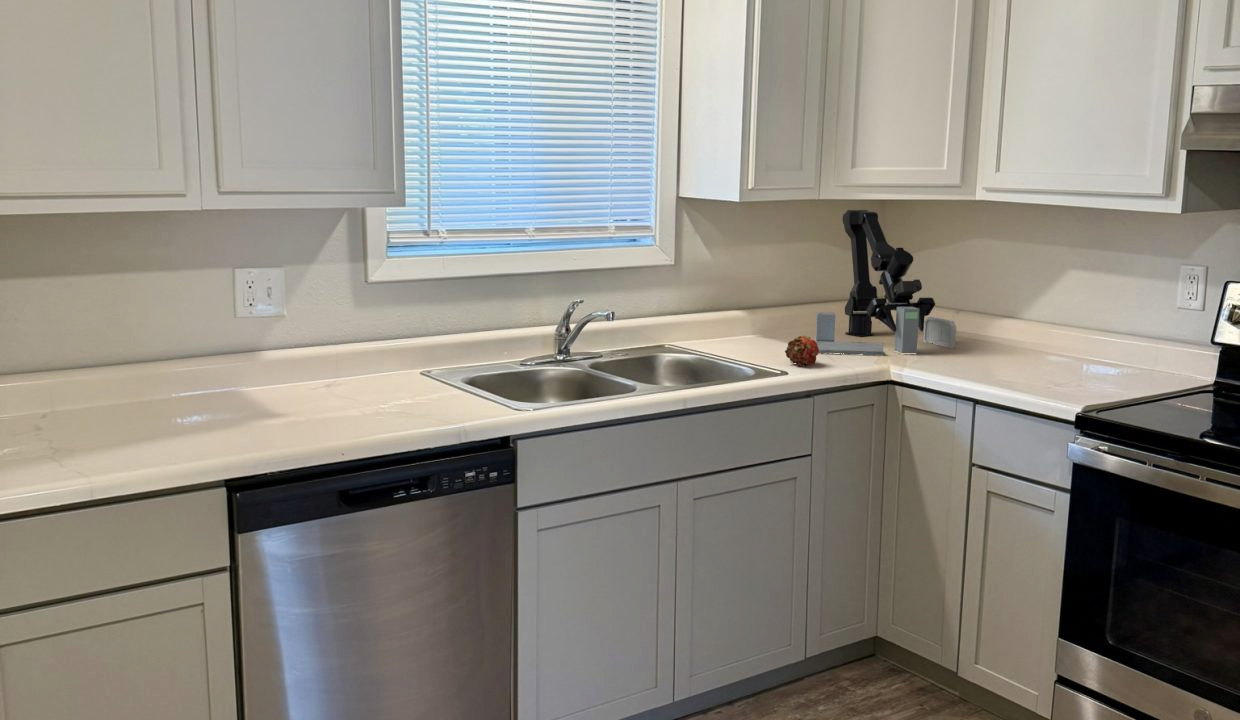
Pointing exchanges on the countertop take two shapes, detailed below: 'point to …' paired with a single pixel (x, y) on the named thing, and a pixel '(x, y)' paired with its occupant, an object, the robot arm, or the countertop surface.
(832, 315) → the rail
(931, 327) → the light switch
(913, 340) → the block
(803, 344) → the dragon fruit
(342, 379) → the countertop surface
